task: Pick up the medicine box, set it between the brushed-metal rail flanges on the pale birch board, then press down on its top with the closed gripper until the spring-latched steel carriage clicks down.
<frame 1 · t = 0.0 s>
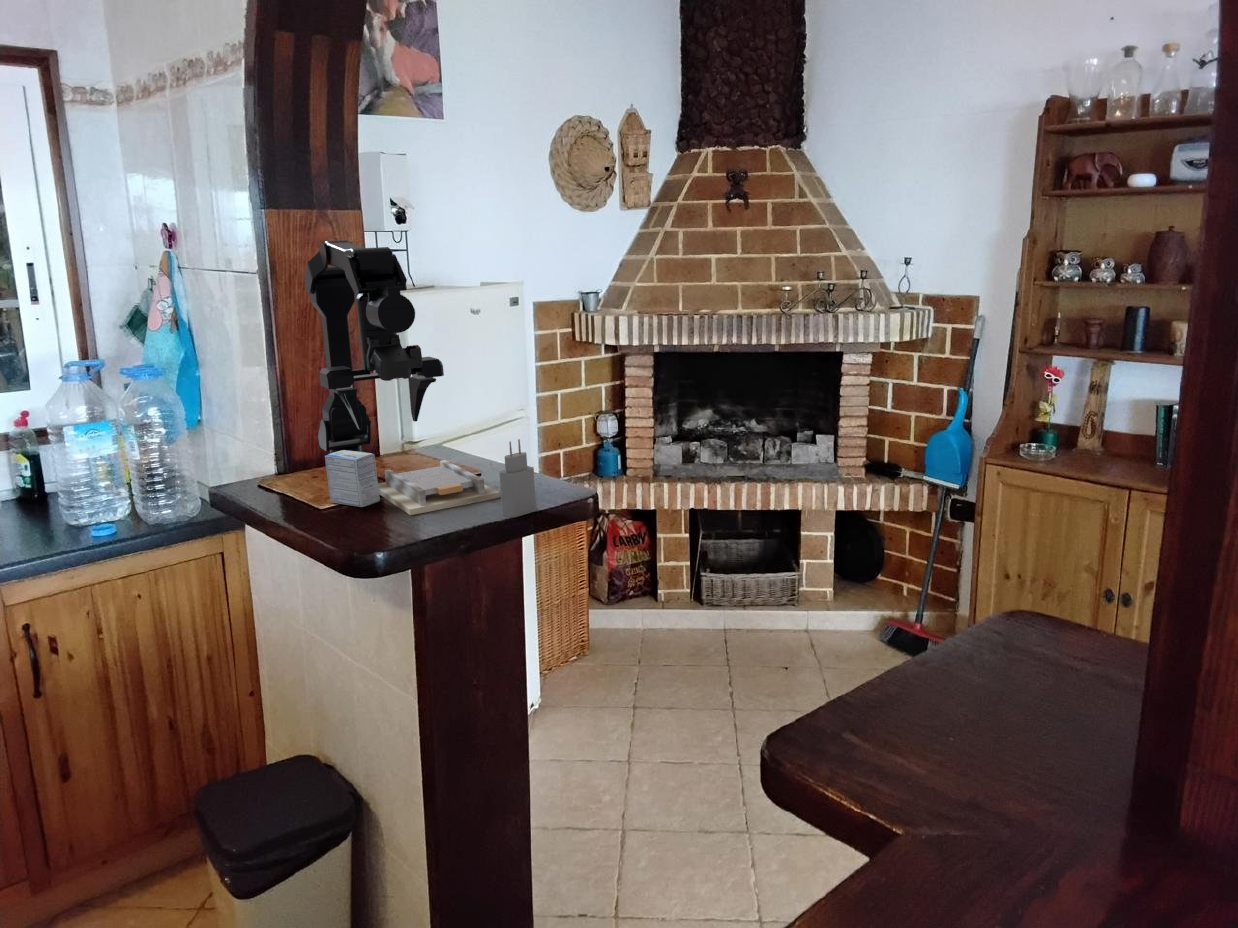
hand: (387, 425, 150), 15 cm above the breakfast bar, fingers open, 9 cm apart
power adapter: (519, 513, 151), on the breakfast bar
rail carriage: (434, 480, 162), point 3 cm above the breakfast bar, slide at 0.0 cm
medicine box: (355, 503, 161), on the breakfast bar
rail board: (434, 493, 164), on the breakfast bar
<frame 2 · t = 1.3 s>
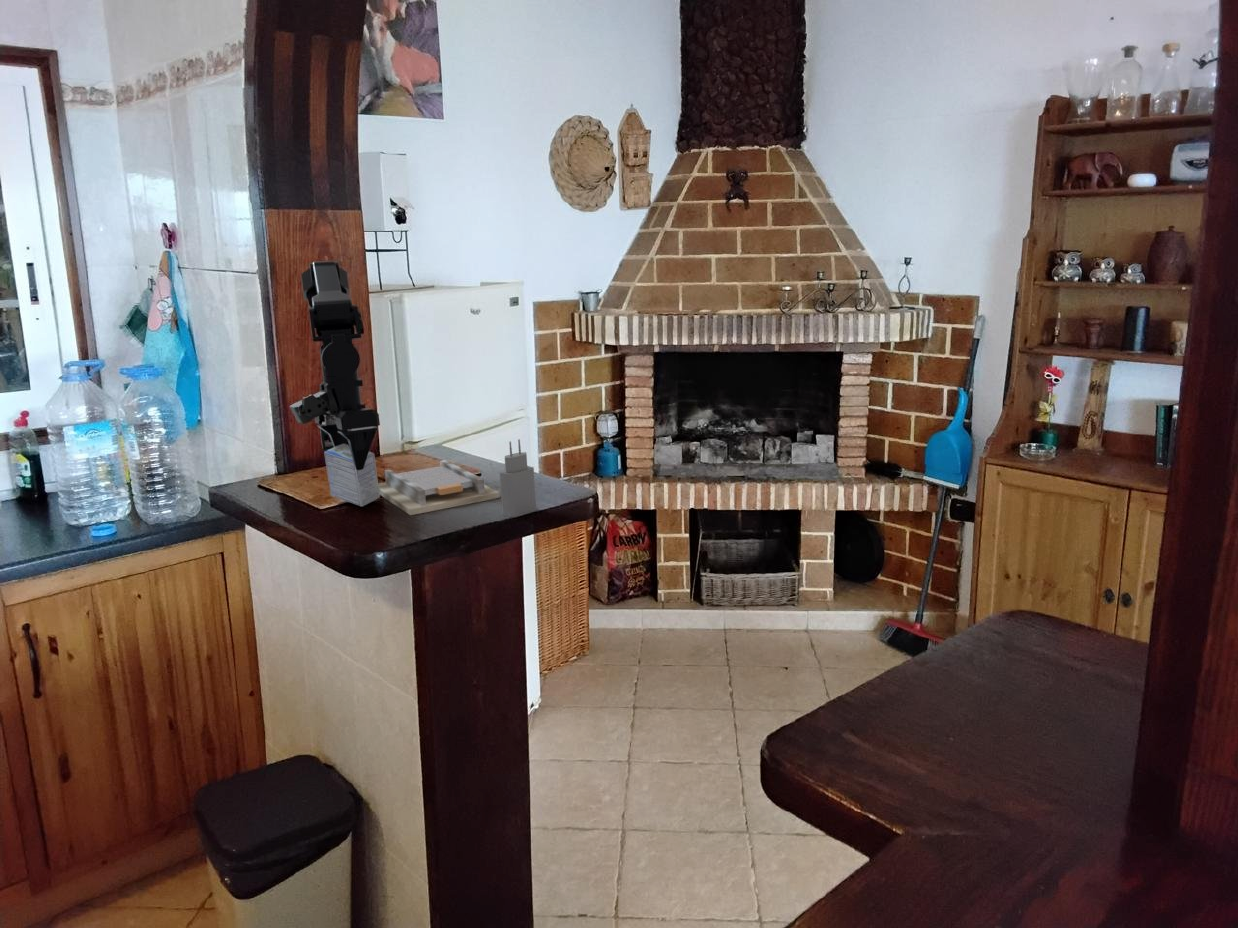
hand: (351, 466, 157), 7 cm above the breakfast bar, fingers open, 9 cm apart
medicine box: (355, 498, 160), point 1 cm above the breakfast bar, touching gripper
everything else where it was.
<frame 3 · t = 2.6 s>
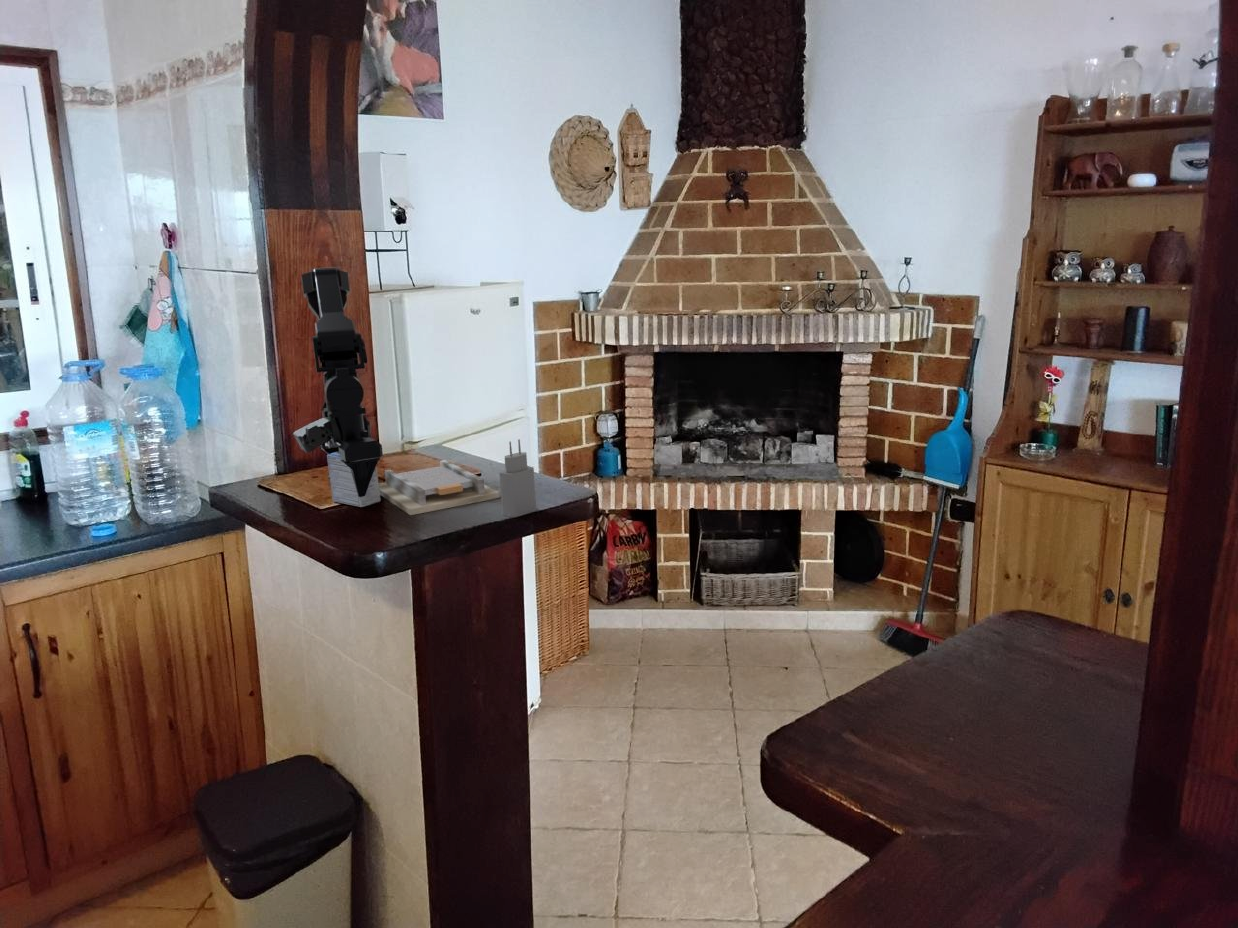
hand: (354, 490, 160), 2 cm above the breakfast bar, fingers closed on medicine box, 9 cm apart
medicine box: (356, 503, 161), on the breakfast bar, touching gripper
everything else where it was.
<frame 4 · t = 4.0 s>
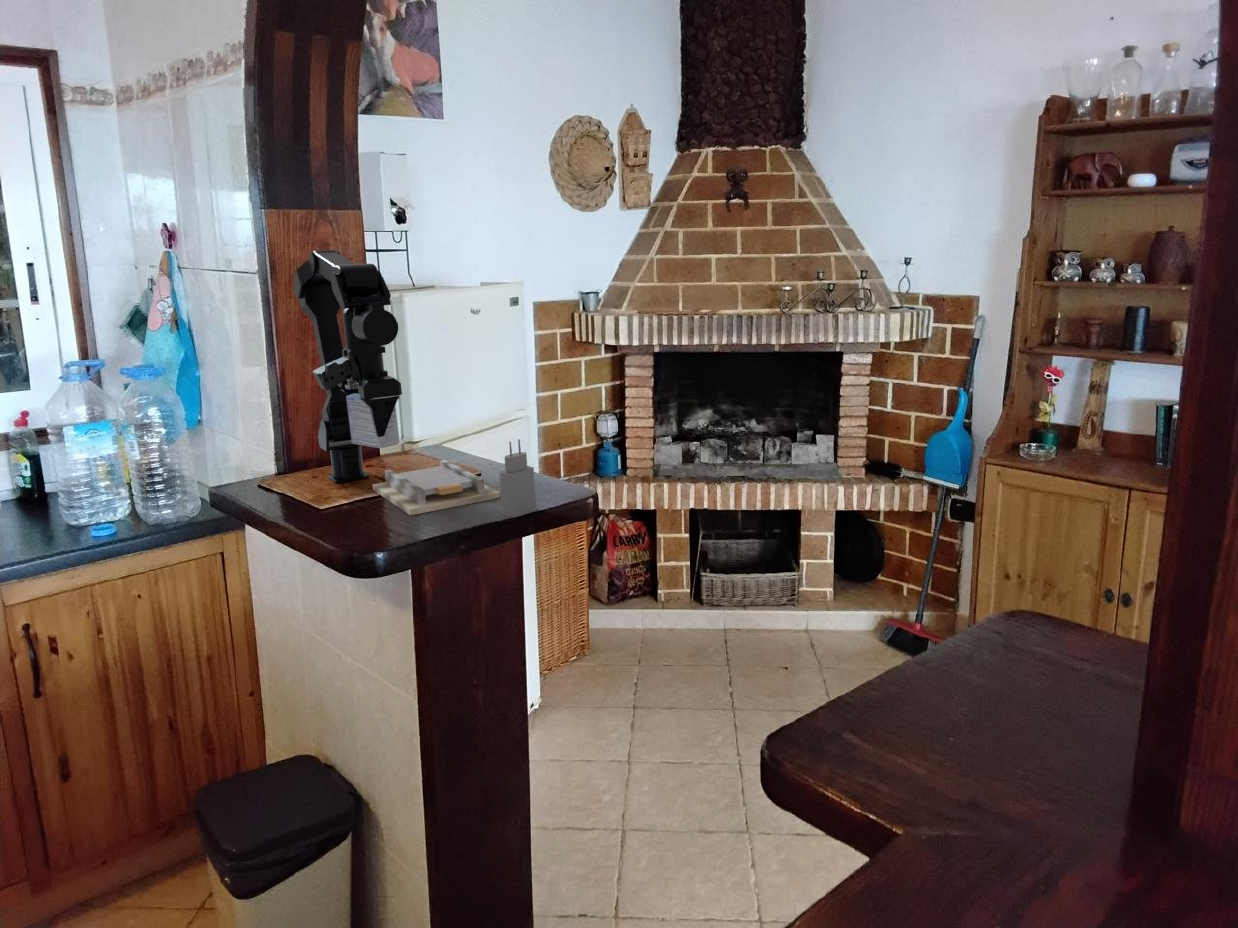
hand: (373, 432, 158), 12 cm above the breakfast bar, fingers closed on medicine box, 9 cm apart
medicine box: (375, 445, 159), point 10 cm above the breakfast bar, touching gripper
everything else where it was.
when the fingers open (6 cm above the breakfast bar, at t = 6.3 s): medicine box drops 2 cm, resting on rail carriage.
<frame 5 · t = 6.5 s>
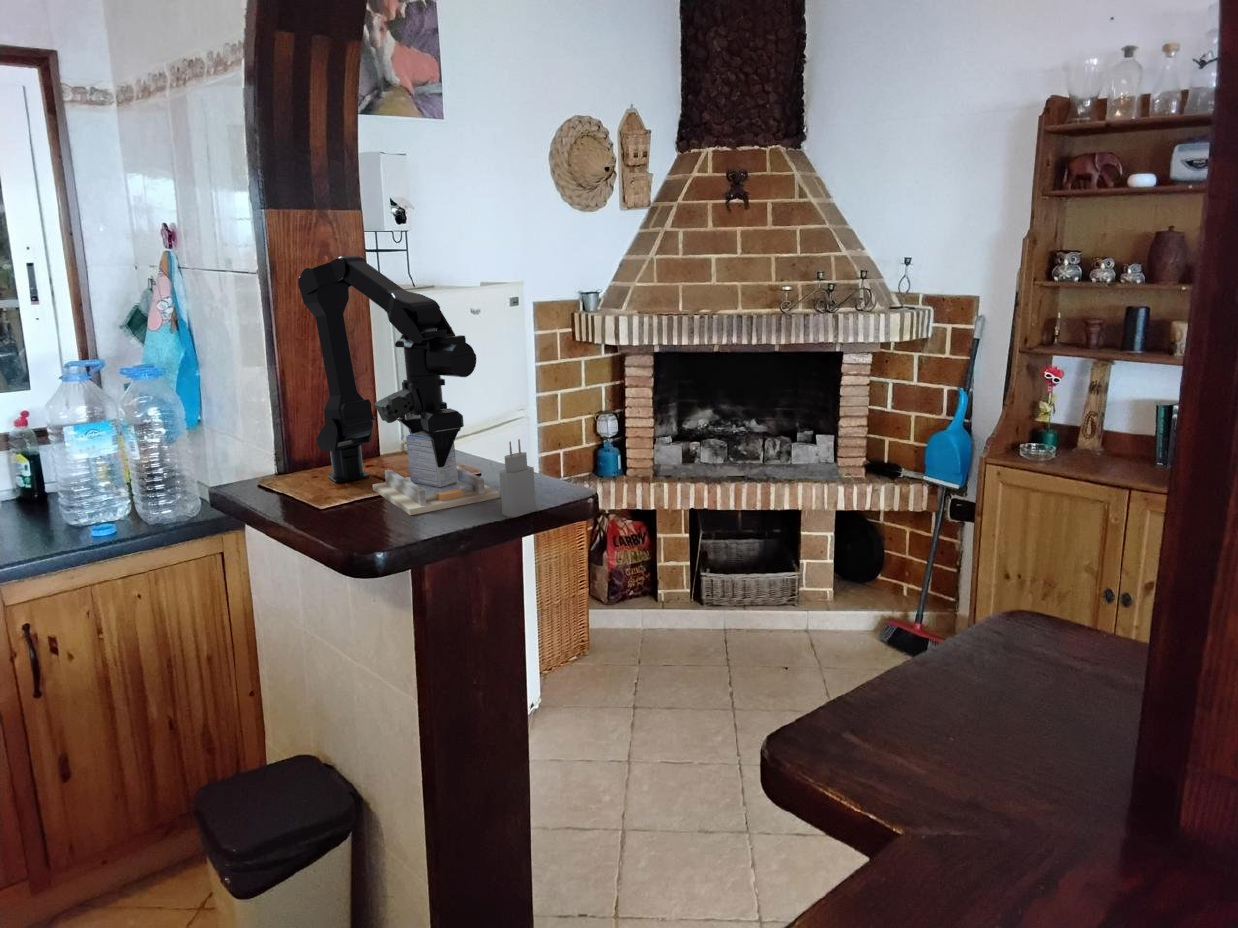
hand: (431, 462, 162), 6 cm above the breakfast bar, fingers open, 9 cm apart
rail carriage: (435, 486, 163), point 1 cm above the breakfast bar, slide at 1.0 cm, touching medicine box, rail board
medicine box: (434, 483, 163), point 2 cm above the breakfast bar, touching gripper, rail carriage
everything else where it was.
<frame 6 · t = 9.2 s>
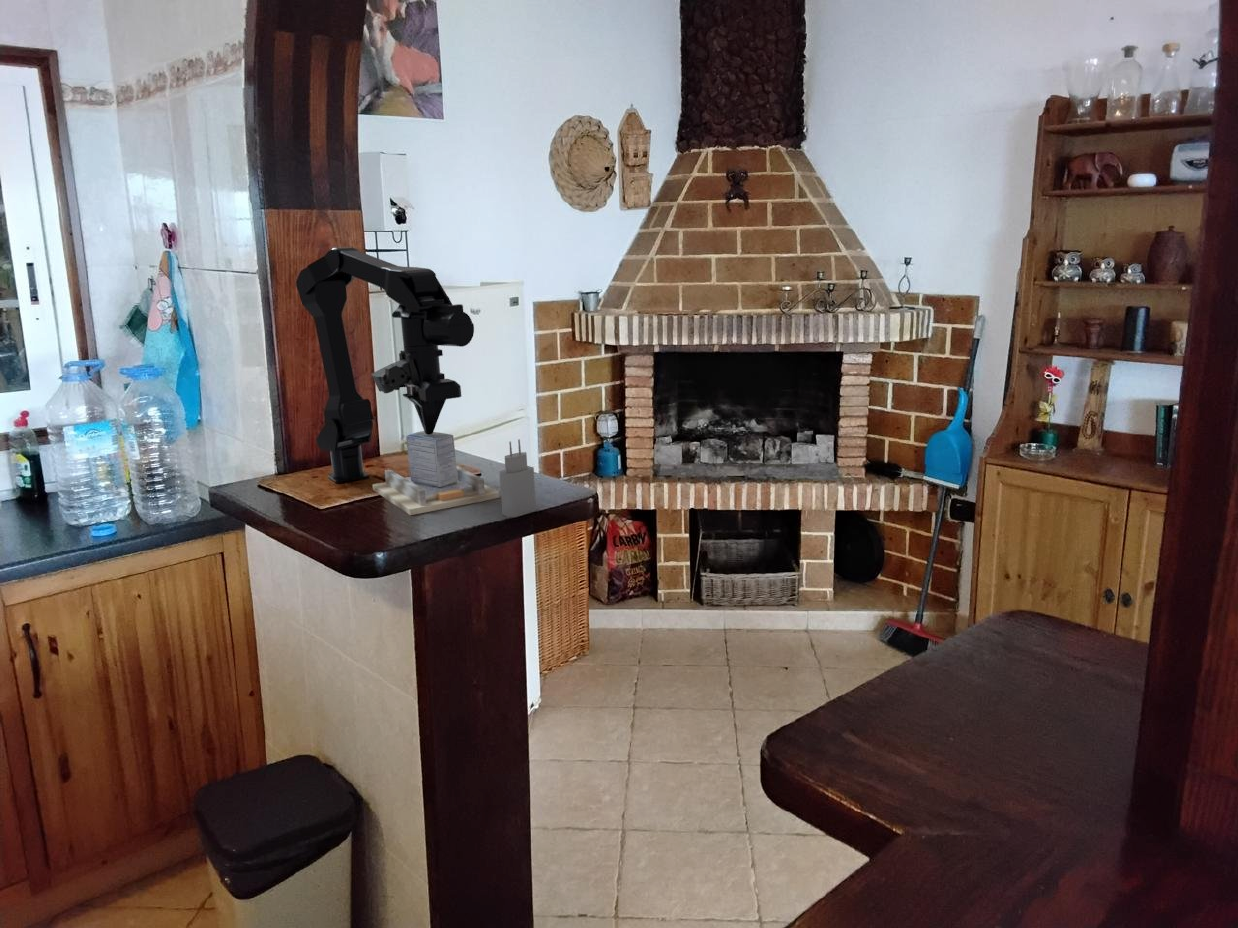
hand: (429, 434, 161), 11 cm above the breakfast bar, fingers closed
medicine box: (434, 483, 164), point 2 cm above the breakfast bar, touching rail carriage
everything else where it was.
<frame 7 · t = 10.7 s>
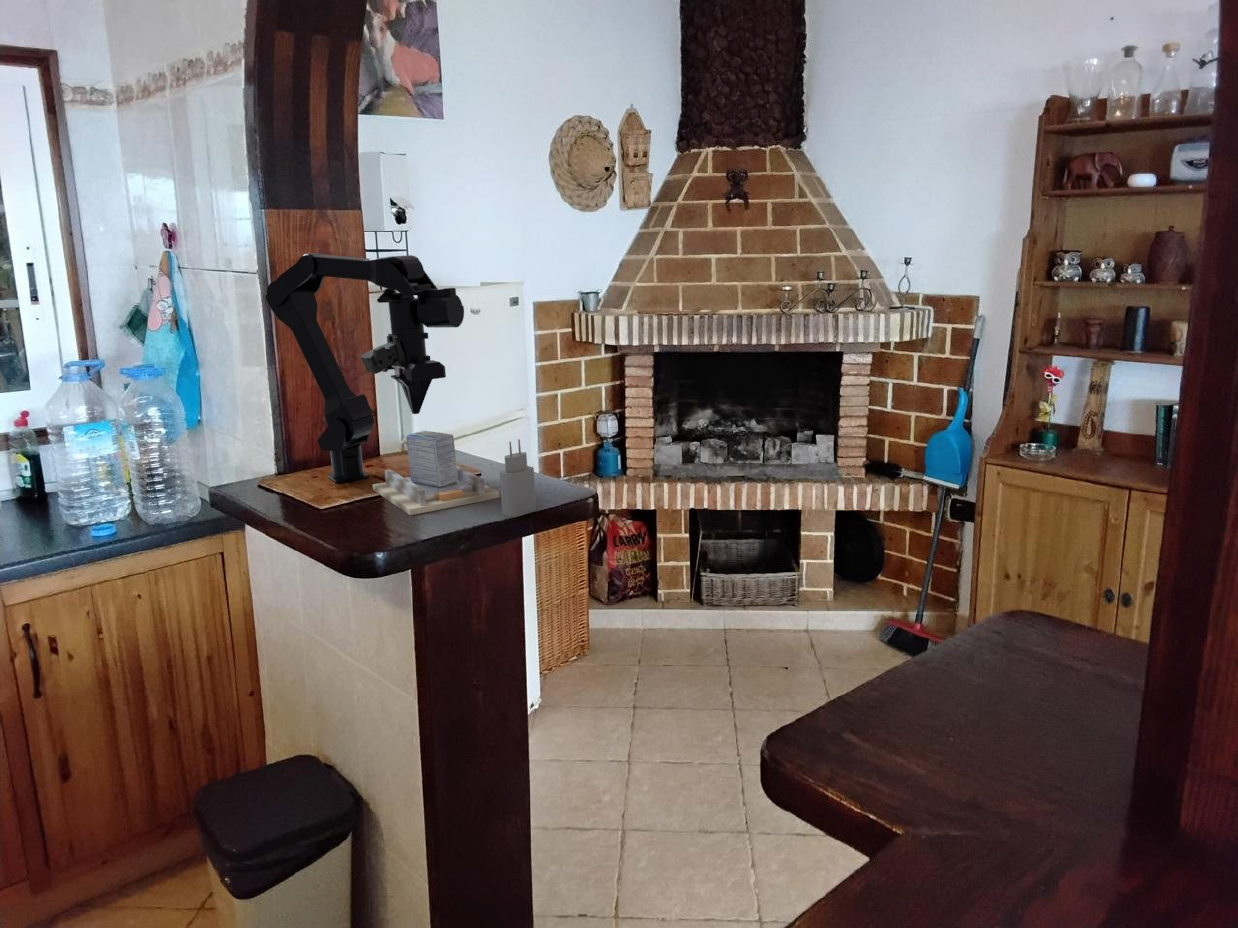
hand: (415, 413, 168), 13 cm above the breakfast bar, fingers closed
nothing on the breakfast bar moved.
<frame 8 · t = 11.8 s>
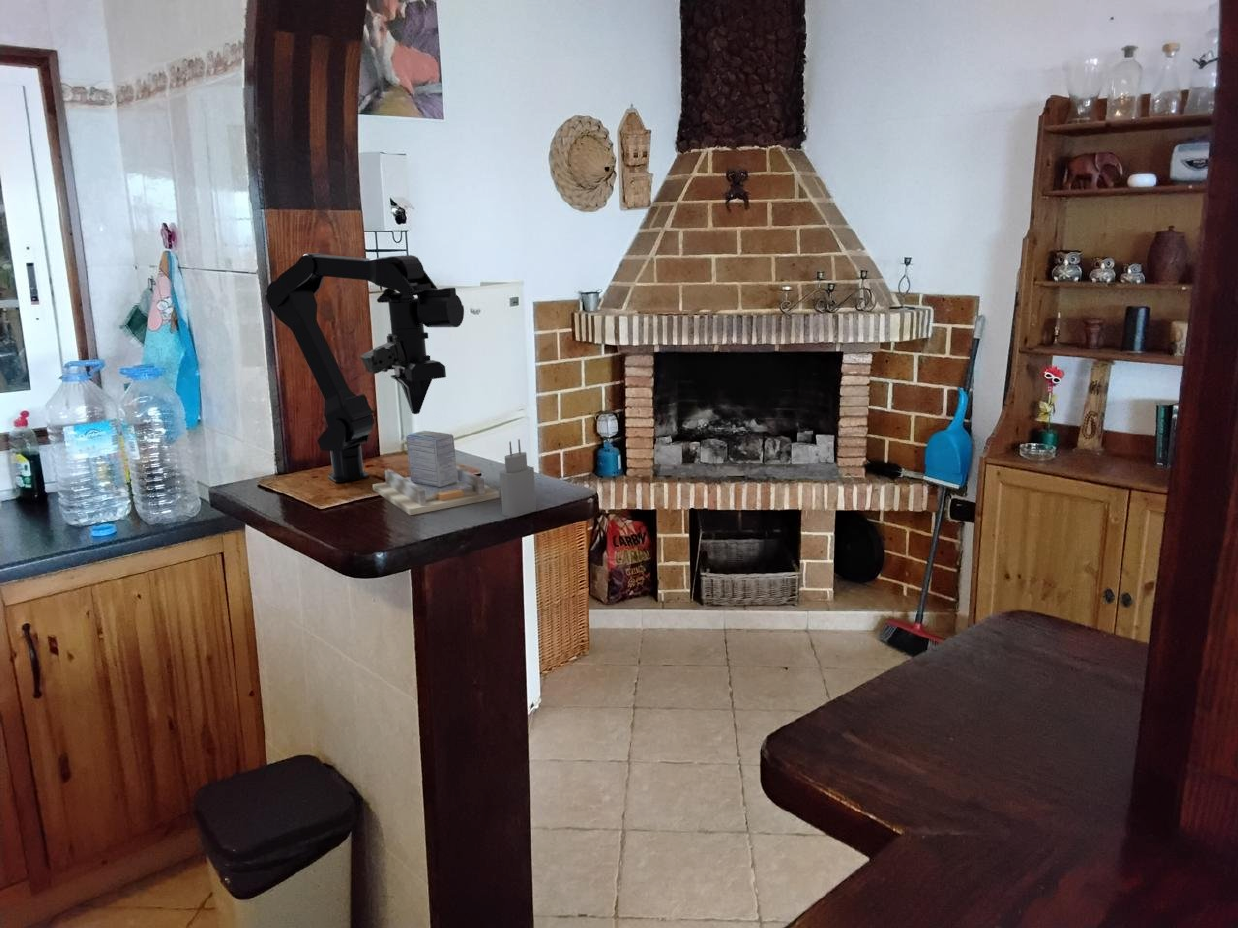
hand: (415, 413, 168), 13 cm above the breakfast bar, fingers closed
nothing on the breakfast bar moved.
at the end: rail carriage slide at 1.0 cm; medicine box inside the target area (0.3 cm from its centre), point 1.8 cm above the breakfast bar; medicine box tilted 0° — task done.
